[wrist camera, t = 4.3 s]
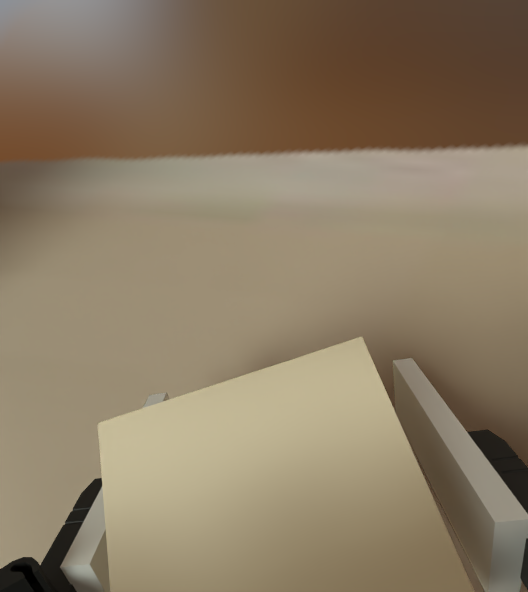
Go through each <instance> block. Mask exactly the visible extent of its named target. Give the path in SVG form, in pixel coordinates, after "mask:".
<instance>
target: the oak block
mask: <svg viewBox="0 0 528 592" xmlns="http://www.w3.org/2000/svg"><path fill="white" fill-rule="evenodd" d="M98 435H99V448H100V461H101V475H102V488H103V501H104V514H105V527H106V540H107V554H108V567H109V580H110V592H475V591H474V589H473V587H472V585H471V582H470V580H469V578H468V576H467V573H466V571H465V569H464V566H463V564H462V562H461V560H460V557H459V555H458V553H457V551H456V548H455V546H454V544H453V542H452V539H451V537H450V535H449V532H448V530H447V528H446V526H445V523H444V521H443V519H442V517H441V514H440V512H439V510H438V508H437V505H436V503H435V501H434V498H433V496H432V494H431V492H430V489H429V487H428V485H427V483H426V480H425V478H424V476H423V474H422V471H421V469H420V467H419V465H418V462H417V460H416V458H415V455H414V453H413V451H412V449H411V446H410V444H409V442H408V440H407V437H406V435H405V433H404V431H403V428H402V426H401V424H400V421H399V419H398V417H397V415H396V412H395V410H394V408H393V406H392V403H391V401H390V399H389V397H388V394H387V392H386V390H385V387H384V385H383V383H382V381H381V378H380V376H379V374H378V372H377V369H376V367H375V365H374V363H373V360H372V358H371V356H370V353H369V351H368V349H367V347H366V344H365V342H364V340H363V338H362V336H361V337H358V338H355V339H352V340H349V341H346V342H343V343H340V344H337V345H334V346H331V347H328V348H325V349H322V350H319V351H316V352H313V353H309V354H306V355H303V356H300V357H297V358H294V359H291V360H288V361H285V362H282V363H279V364H276V365H273V366H270V367H267V368H264V369H261V370H258V371H255V372H252V373H249V374H245V375H242V376H239V377H236V378H233V379H230V380H227V381H224V382H221V383H218V384H215V385H212V386H209V387H206V388H203V389H200V390H197V391H194V392H191V393H188V394H185V395H182V396H178V397H175V398H172V399H169V400H166V401H163V402H160V403H157V404H154V405H151V406H148V407H145V408H142V409H139V410H136V411H133V412H130V413H127V414H124V415H121V416H118V417H115V418H111V419H108V420H105V421H102V422H99V423H98Z"/></svg>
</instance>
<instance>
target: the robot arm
mask: <svg viewBox="0 0 528 592" xmlns="http://www.w3.org/2000/svg"><path fill="white" fill-rule="evenodd" d="M393 377H394V399H395V412H396V415H397V417H398V419H399V421H400V424H401V426H402V428H403V431H404V433H405V435H406V437H407V439H408V441H409V443H410V445H411V447H412V449H413V451H414V453H415V455H416V457H417V459H418V461H419V462H420V464H421V466H422V468H423V470H424V472H425V474H426V476H427V478H428V480H429V482H430V484H431V486H432V488H433V490H434V492H435V494H436V496H437V498H438V500H439V502H440V504H441V506H442V508H443V510H444V512H445V514H446V516H447V518H448V520H449V522H450V524H451V526H452V528H453V530H454V532H455V534H456V536H457V538H458V540H459V542H460V544H461V546H462V548H463V550H464V551H465V553H466V555H467V557H468V559H469V561H470V563H471V565H472V567H473V569H474V571H475V573H476V575H477V577H478V579H479V581H480V583H481V585H482V587H483V589H484V591H485V592H520V588H521V581H523V583H524V585H525V586H526V588H527V590H528V468H527V466H526V465H525V464H524V463H523V462H522V460H521V459H519V458H518V456H517V455H516V453H515V452H514V451H513V450H512V449H511V448H510V446H509V445H508V444H507V443H506V442H505V441H504V440H502V439H501V438H499V437H498V436H496V435H495V434H493V433H492V432H490V431H489V430H480V431H472V432H467V431H466V430H465V429H464V427H463V426H462V425H461V423H460V422H459V421H458V419H457V418H456V417H455V415H454V414H453V413H452V411H451V410H450V409H449V407H448V406H447V404H446V403H445V402H444V400H443V399H442V398H441V396H440V395H439V394H438V392H437V391H436V390H435V388H434V387H433V386H432V384H431V383H430V382H429V380H428V379H427V377H426V376H425V375H424V373H423V372H422V371H421V369H420V368H419V367H418V365H417V364H416V363H415V361H414V360H413V359H412V358H407V359H400V360H393ZM166 400H169V398H168V395H167V393H160V394H153V395H149V397H148V399H147V401H146V403H145V405H144V407H143V408H145V407H148V406H151V405H154V404H157V403H160V402H163V401H166ZM0 592H110V580H109V567H108V554H107V540H106V527H105V514H104V501H103V488H102V478H99V479H94V481H93V482H92V483H91V484H90V485H89V486H88V487H87V488H86V489H85V490H84V491H83V492H82V493H81V495H80V497H79V499H78V500H77V502H76V504H75V506H74V507H73V511H72V512H71V513H70V514H69V516H68V518H67V520H66V521H65V525H63V527H62V528H61V530H60V532H59V534H58V535H57V537H56V539H55V541H54V542H53V544H52V546H51V548H50V549H49V551H48V553H47V555H46V556H45V558H44V560H43V562H42V563H41V565H39V564H38V562H37V561H36V560H35V559H33V558H32V557H23V558H20V559H18V560H15V561H12V562H11V563H9V564H8V565H6V566H5V567H3V568H2V569H0Z"/></svg>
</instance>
